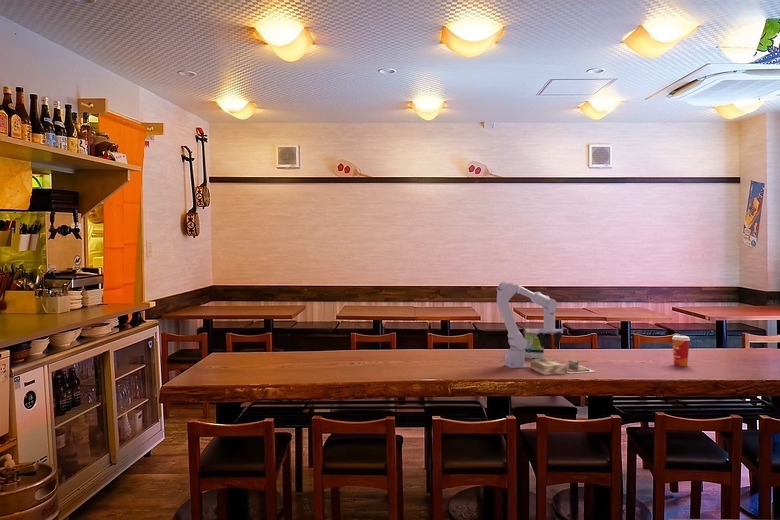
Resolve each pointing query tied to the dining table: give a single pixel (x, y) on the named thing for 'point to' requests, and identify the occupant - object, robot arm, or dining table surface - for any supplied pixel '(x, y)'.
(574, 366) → the lid
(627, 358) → the dining table surface
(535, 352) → the tea box
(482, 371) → the dining table surface
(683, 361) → the coffee cup
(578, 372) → the mat
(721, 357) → the dining table surface
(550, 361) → the case
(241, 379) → the dining table surface
